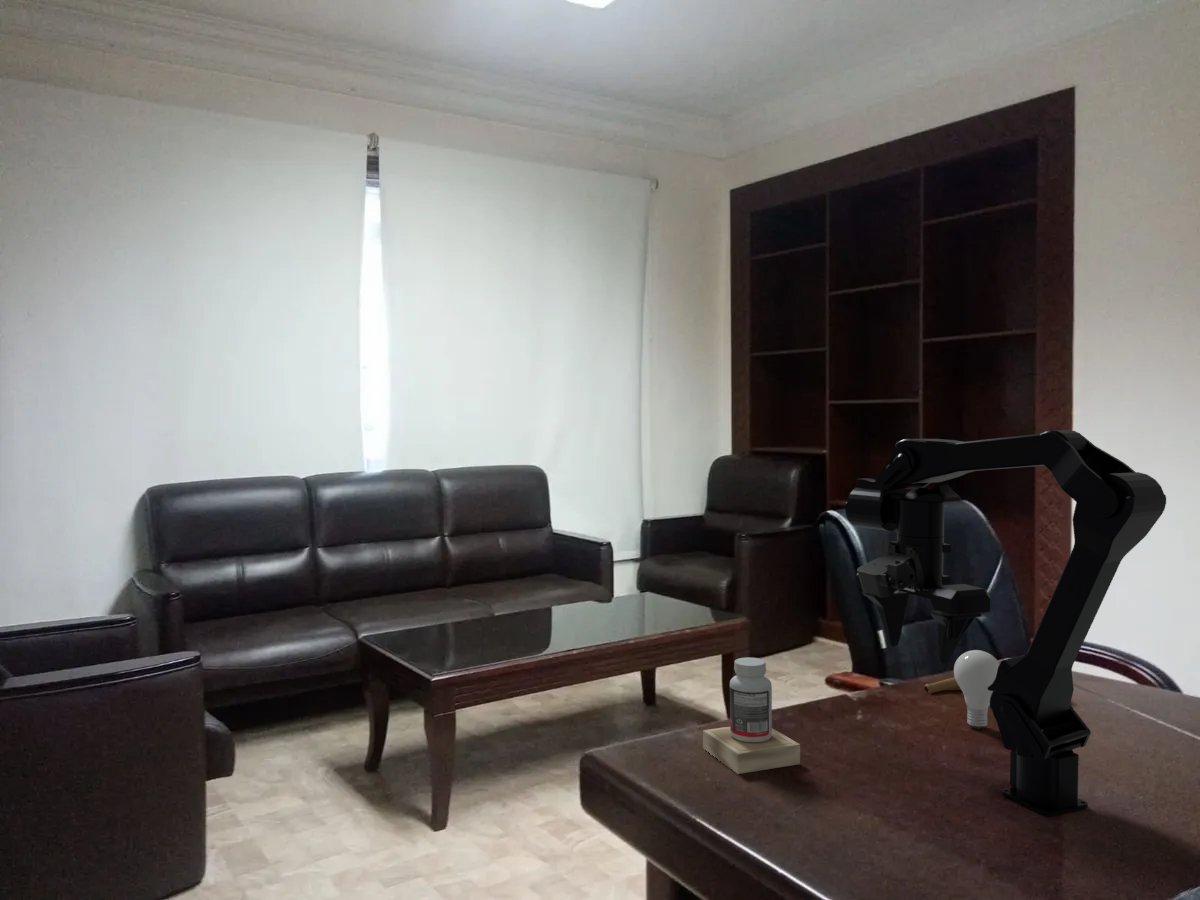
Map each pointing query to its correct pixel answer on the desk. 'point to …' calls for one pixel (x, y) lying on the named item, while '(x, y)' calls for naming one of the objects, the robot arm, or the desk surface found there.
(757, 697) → the pill bottle
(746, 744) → the plinth
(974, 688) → the lightbulb
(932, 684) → the pipe
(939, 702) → the desk surface
